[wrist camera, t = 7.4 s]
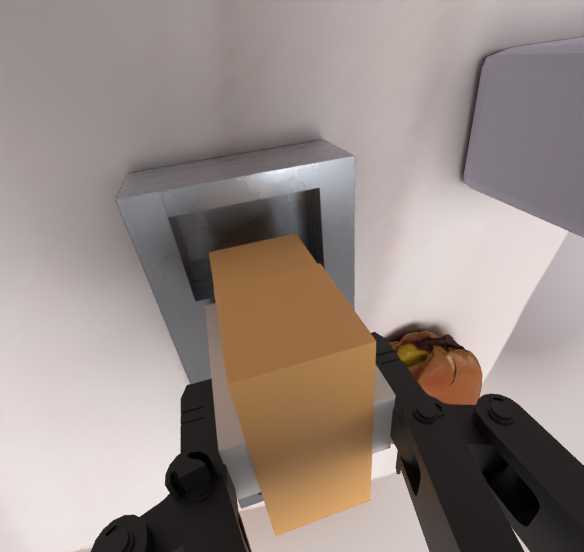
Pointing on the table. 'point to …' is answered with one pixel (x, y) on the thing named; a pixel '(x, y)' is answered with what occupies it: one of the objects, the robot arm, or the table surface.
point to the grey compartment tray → (235, 228)
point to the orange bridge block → (296, 378)
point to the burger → (441, 367)
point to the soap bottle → (532, 131)
